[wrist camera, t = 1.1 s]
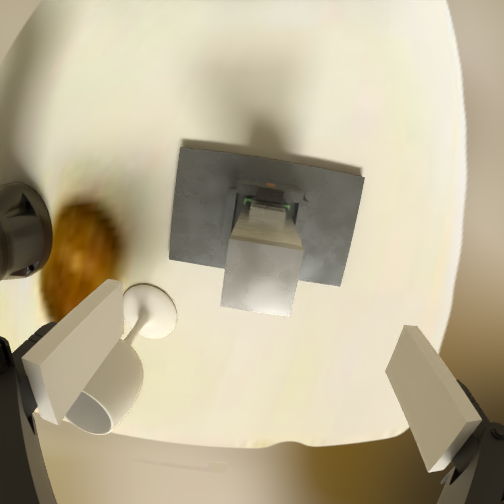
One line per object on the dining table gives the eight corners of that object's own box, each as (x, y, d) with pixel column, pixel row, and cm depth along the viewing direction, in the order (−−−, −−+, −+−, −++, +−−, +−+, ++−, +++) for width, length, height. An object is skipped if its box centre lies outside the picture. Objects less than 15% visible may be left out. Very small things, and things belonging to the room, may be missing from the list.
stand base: (171, 256, 41) (146, 285, 32) (182, 147, 37) (156, 146, 28) (338, 282, 41) (356, 318, 32) (361, 176, 37) (390, 184, 28)
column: (240, 235, 39) (216, 308, 20) (247, 190, 37) (227, 226, 19) (281, 241, 39) (292, 319, 20) (288, 197, 37) (309, 240, 19)
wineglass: (182, 295, 43) (125, 400, 23) (172, 345, 45) (123, 453, 25) (124, 276, 42) (39, 361, 22) (119, 326, 45) (50, 419, 25)
